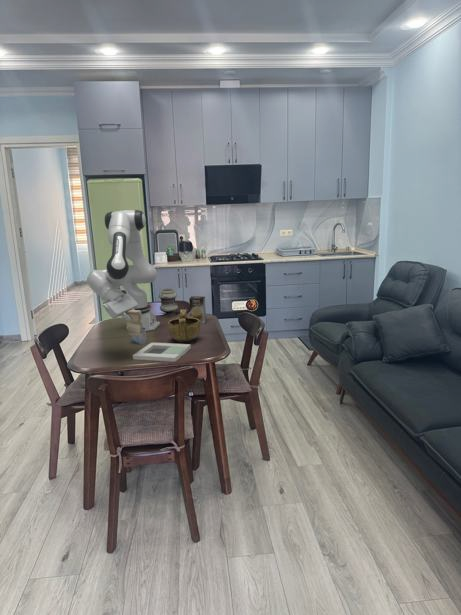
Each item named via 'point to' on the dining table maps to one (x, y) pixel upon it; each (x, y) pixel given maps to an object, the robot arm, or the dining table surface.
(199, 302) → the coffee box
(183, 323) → the ceramic bowl
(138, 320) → the birch block
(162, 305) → the apothecary jar
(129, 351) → the dining table surface
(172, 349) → the hole board
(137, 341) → the medicine box
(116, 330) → the dining table surface
